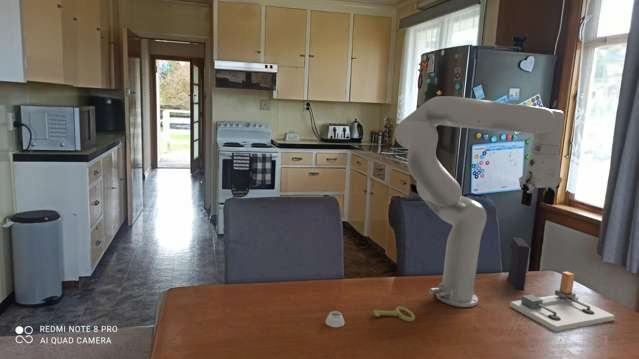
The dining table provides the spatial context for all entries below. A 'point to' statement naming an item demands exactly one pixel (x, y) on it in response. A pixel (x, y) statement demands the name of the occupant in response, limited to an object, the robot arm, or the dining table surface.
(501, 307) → the dining table surface
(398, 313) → the key
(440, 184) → the robot arm
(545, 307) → the gauge board
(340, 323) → the white jar
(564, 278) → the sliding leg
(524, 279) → the calculator
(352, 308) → the dining table surface
